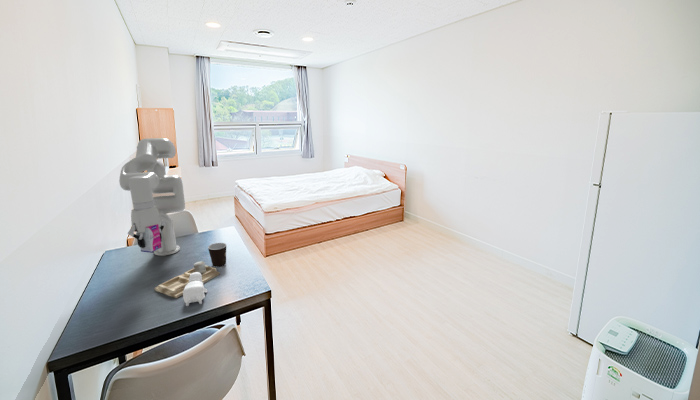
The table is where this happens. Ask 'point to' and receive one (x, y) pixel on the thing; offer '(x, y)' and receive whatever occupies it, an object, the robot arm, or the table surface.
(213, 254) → the coffee mug
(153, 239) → the supplement box
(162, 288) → the beech caddy
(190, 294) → the white figurine
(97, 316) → the table surface
